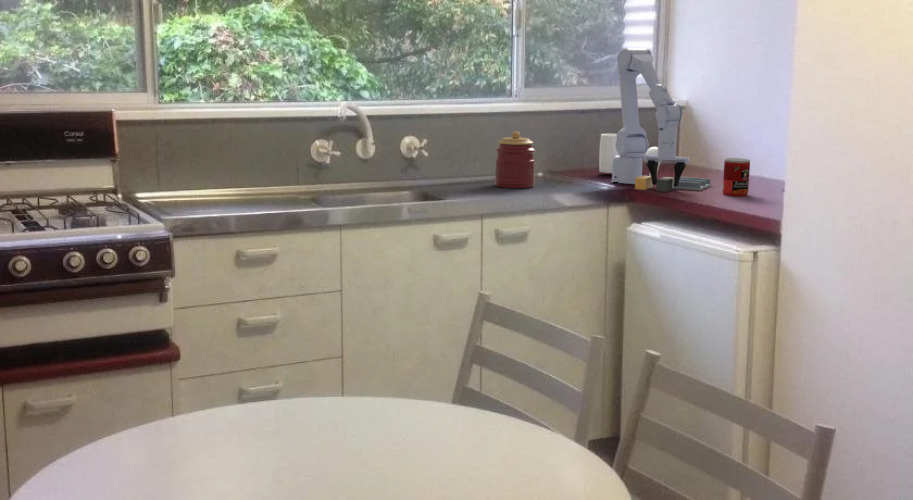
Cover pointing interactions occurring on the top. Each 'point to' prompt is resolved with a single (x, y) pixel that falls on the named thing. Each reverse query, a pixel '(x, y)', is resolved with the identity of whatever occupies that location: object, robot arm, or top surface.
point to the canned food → (736, 176)
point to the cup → (607, 152)
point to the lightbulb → (653, 153)
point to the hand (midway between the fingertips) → (665, 185)
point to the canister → (515, 162)
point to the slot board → (692, 183)
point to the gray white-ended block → (665, 184)
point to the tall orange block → (643, 182)
